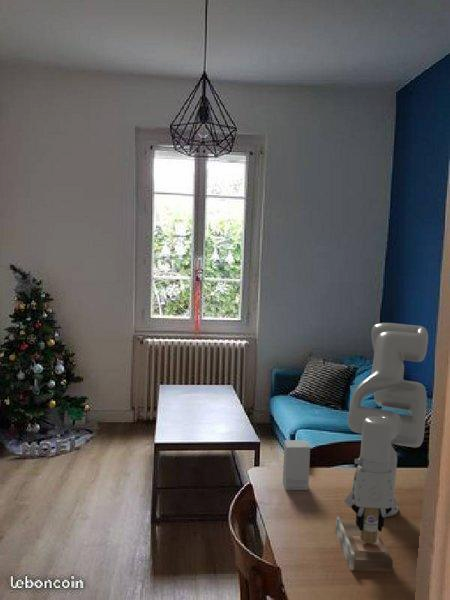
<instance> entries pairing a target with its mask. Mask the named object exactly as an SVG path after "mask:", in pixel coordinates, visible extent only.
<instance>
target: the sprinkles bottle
mask: <svg viewBox="0 0 450 600" xmlns="http://www.w3.org/2000/svg"><path fill="white" fill-rule="evenodd" d="M363 517H364V522H363V530H362V531H361V535H360V538H361V540H362V541H364V542H366V543H375V542H376V541H377V532H378V520H379V508H364V510H363Z"/></svg>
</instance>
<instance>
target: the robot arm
mask: <svg viewBox="0 0 450 600" xmlns="http://www.w3.org/2000/svg"><path fill="white" fill-rule="evenodd" d="M370 336H371V344H372V348H373V351H374V352H373V358H372V359H373V360H372V366H371V371H370V375H369V376H367V377H366V378H365V379H363V380H362V381H361V382H359V384H358V385H357V386H356V387H355V389H354V390H353V393H352V395H351V399H350V404H349V408H348V409H349V410H348V415H347V416H348V417H347V424H348V428H349V429H350V431H352V432H353V433H357V434H361V443H360V454H359V457H358V458H354V465H357V466H356V468H355V472H354V476H353V480H352V487H351V489H352V490H351V491H350V493H349V494H348V495H347V496H346V498H345V499H344V503H345V505H347V507H350V509H352V511H354V513H355V514H356V515H355V522H356V525H357V526H358V527H359V529H360V531H362V530H363V522H364V517H363V510H364V508H379V520H378V530H377V532H382V529H383V528H384V525H385V518H388V517H389V518H390V517H393V516H395V515H397V514H398V513H399V503H398V502H397V500H396V498H395V492H396V491H395V490H396V478H397V467H398V465H397V464H398V456H397V452H396V450H395V448H394V446H392V445H398V446H404V447H410V448H419V447H421V446H422V444H423V442H424V438H425V426H426V414H427V400H428V399H427V398H428V397H427V396H428V395H427V390H426V386H424V384H422V383H421V382H417V381H413V380H406V379H404V375H405V364H404V361H407V362H415V363H421V362H423V361H424V360H425V357H426V356H427V351H428V344H429V333H428V330H427V328H426V327H424V326H422V325H416V324H415V325H414V324H405V323H394V322H379V323H376V324H374V325H373V326H372V328H371V335H370ZM372 393H373V400H374V403H375V404H376V405H377V406H379V407H383V408H387V409H380V408H375V407H368V406H363V405H362V402H363V400H364V399H365V398H366V397H367V396H368V395H371V394H372ZM361 405H362V406H361ZM388 409H393V410H398V411H399V410H401V411H406V412H408V413H409V414H410V415H409V414H405V413H404V414H402V413H397V412H396V411H393V410H388Z"/></svg>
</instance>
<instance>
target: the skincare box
mask: <svg viewBox="0 0 450 600" xmlns="http://www.w3.org/2000/svg"><path fill="white" fill-rule="evenodd" d="M283 443H284V444H283V445H284V446H283V467H282V468H283V471H282V483H283V487H284V489H285V491H309V483H310V481H309V480H310V462H311V461H310V459H311V458H310V457H311V456H310V455H311V446H310V444H309V442H308V441H307V440H306V439H305V440H303V439H302V440H301V439H299V440H298V439H296V440H295V439H293V440H292V439H287V440H286V439H284V442H283Z"/></svg>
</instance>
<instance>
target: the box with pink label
mask: <svg viewBox="0 0 450 600" xmlns="http://www.w3.org/2000/svg"><path fill="white" fill-rule="evenodd" d="M334 531H335V533H336V536H337V539H338V542H339V545H340V547H341V549H342V552H343V555H344V557H345V559H346V562H347V565H348V568H349V570H350V571H356V572H357V571H361V572H388V573H393V563H394V561H393V558H392V557H391V554H390V553H389V551H388V549H387V548H386V545H385V543H384V541H383V540H382V537H381V536H380V534H379V531H377V541H376V542H375V543H366V542H364V541H362V540H361V538H360V535H361V531H360V529H359V527H358V526H357V525H356V521H355V522H354V521H352V522H351V521H342V520H341V518H340V516H336V518H335V530H334Z"/></svg>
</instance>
